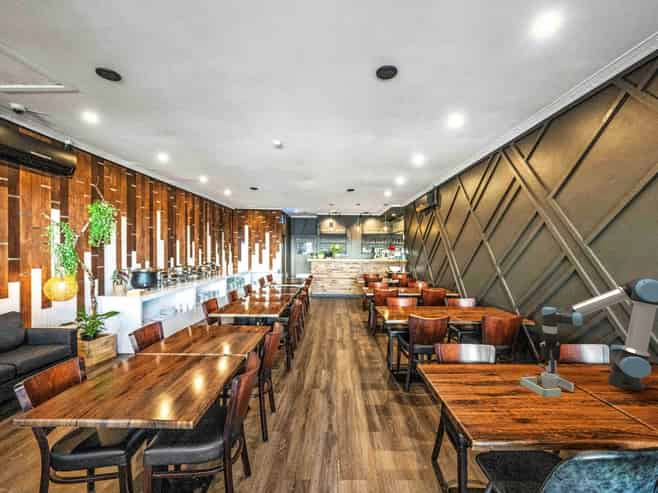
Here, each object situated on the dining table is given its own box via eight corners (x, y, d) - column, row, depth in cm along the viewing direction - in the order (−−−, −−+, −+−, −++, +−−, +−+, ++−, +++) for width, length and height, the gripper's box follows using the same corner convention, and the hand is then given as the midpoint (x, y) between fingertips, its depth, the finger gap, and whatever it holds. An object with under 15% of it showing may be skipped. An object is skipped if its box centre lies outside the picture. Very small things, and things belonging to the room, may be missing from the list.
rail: (555, 378, 186) (555, 373, 187) (563, 381, 181) (562, 376, 181) (523, 380, 184) (522, 375, 184) (529, 383, 179) (529, 378, 179)
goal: (535, 383, 179) (535, 376, 180) (561, 396, 162) (561, 389, 162) (520, 384, 178) (520, 377, 178) (544, 397, 161) (544, 390, 161)
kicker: (550, 377, 187) (549, 353, 188) (580, 391, 168) (579, 364, 168) (542, 377, 187) (541, 353, 187) (571, 391, 167) (570, 364, 168)
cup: (557, 386, 175) (557, 372, 175) (567, 392, 167) (566, 378, 167) (538, 386, 176) (537, 372, 176) (546, 392, 168) (546, 377, 168)
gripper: (556, 330, 189) (557, 367, 188) (533, 331, 187) (534, 369, 186) (567, 333, 182) (568, 372, 181) (543, 334, 180) (544, 373, 179)
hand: (551, 370), depth 184 cm, fingers closed on kicker, 3 cm apart
